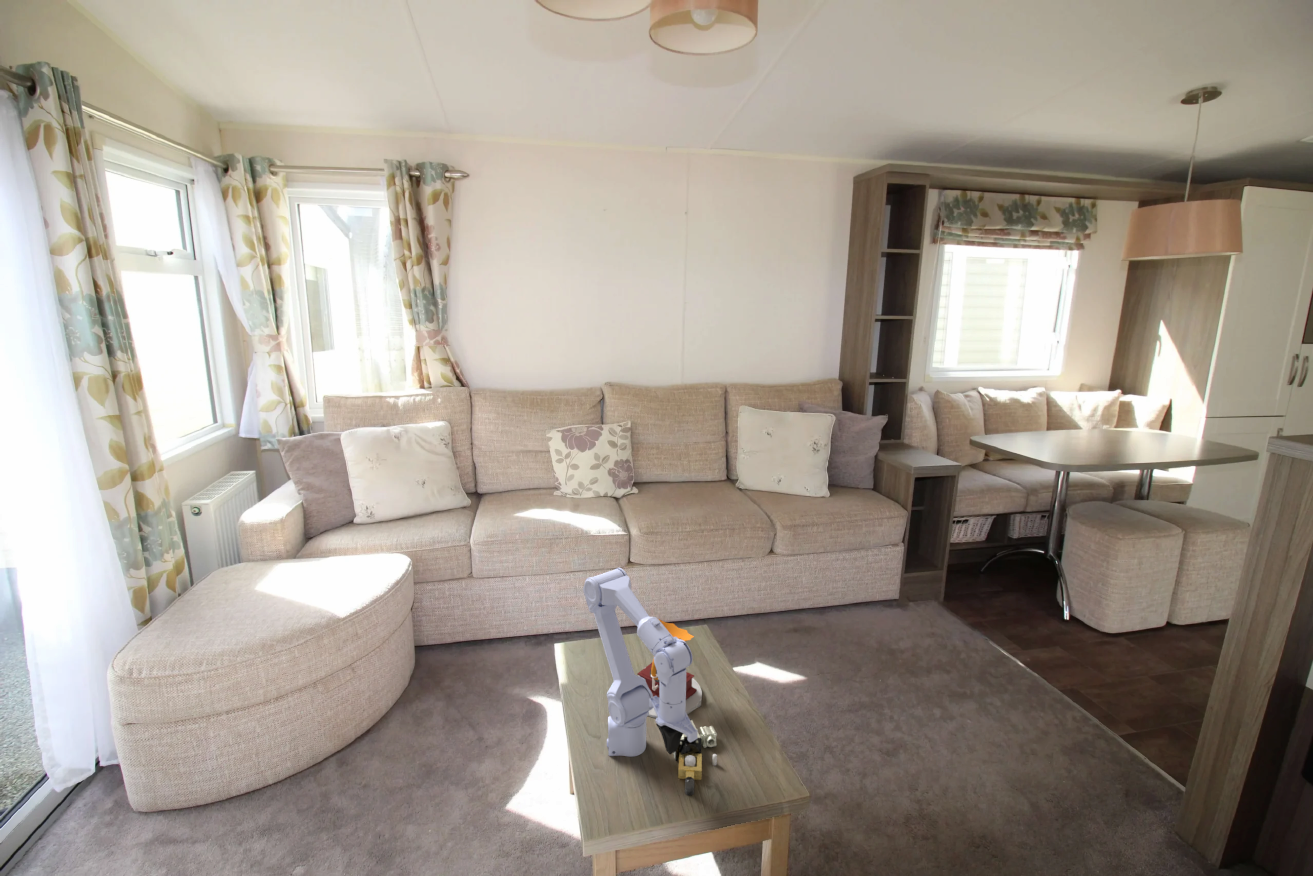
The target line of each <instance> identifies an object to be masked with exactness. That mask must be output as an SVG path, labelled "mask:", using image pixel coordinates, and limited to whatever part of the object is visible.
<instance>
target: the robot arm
mask: <svg viewBox="0 0 1313 876" xmlns="http://www.w3.org/2000/svg"><path fill="white" fill-rule="evenodd" d="M631 581H632V580H631V578H630V576H629V575H628V573H627V572H626V571H625V570H624V569H623V568H621V567H617V568H614V569H613V570H609V571H606V572H604V573H600V574H598V575H595V576H594V575H593V576H591V577H590V576H589V577H587V578H586V579H585V581H584V585H583V587H582V592H583V595H584V597H585V598H584V599H585V602H586V605H587V608H588V611H589V613H590V614H591V613H592V614H593V616H594V619H595V623H596V626H597V631H598V632H599V633H598V634H599V636H600V639H601V643H602V645H603V650H604V653H605V656H606V659H607V663H608V666H609V670H610V672H611V676H612V679H613V681H612V684H611V686H610V687H609V689H608V690H607V691H606V692H607V693H606V697H607V702H608V703H607V705H608V713H609V716H608V717H607V730H608V732H607V735H608V736H607V738H606V747H607V748H608V757H614V756H615V757H616V756H625V757H631V758H633V757H637V756H639V755H641V754H643V753H644V752H645V750H646V748H647V717H650V716H649V711H650V710H652V709H653V708H654V710H655V712H656V714H657V717H658V718H655V723H656V724H655V725H656V726H657V728H658V730H659V731H660V734H661V736H662V741H663V743H664V747H665V751H666V753H668V754H669V755H672V754H673V753H674V752H675V751H677V749H678V745H679V742H680V739H681V737H682V735H683V734H685V735H686V736H687V740H688V741H689V742H692V741H694V740H696V739H697V733H699V730H698V731H697V730H696V729H697V728H696V729H695V728H694V726H693V725H692V723H691V721H690V719H691V718H690V716H688V715H689V714H687V713H686V712H685V711H686V672H687V668H688V667H689V666H691V665H692V663H693V653H692V651H691V650H692V649H691V648H690V646H689V645H688V643H687V641H686V642H685V641H683V640H681V639H678V638H677V637H673V636H672V635H671V634H670V633H669V631H668V630H667V629H666V628H665V627H664V625H663V624H662V623H661V622H660V621H659V619H660V618H658V617H656V616H650V615H649V614H648V612H647V611H646V609H645V607H644V606H643V605H642V603H641V601H639V599H638V597H637V596H636V594H635V592H634V591H633V590H632V582H631ZM617 607H618V608H619V609H620V610H621V611H622V612H623V613H624V614H625V616H627V618H629V620H631V622H633V624H634V625H635V626H636V627H637V629H636V634H637V637H638V638H639V639H640V641H642V643H643V644H644V645H645V647H646V648H647V649H648V651H649V652H650V653H651V654H652V655H653V658H654V664H655V666H656V669H657V676H658V679H659V680H660V681H659V697H657V696H653V694H652V692H651V690H650V689H649V687H648V685H647V683H646V680H645V679H644V678H642V677H640V676H639V675H637V674H636V673H635V671H634V668H633V665H632V661H631V659H630V655H629V652H628V649H627V644H626V642H625V638H624V636H623V632H622V628H621V626H620V623H619V618H618V615H617V613H616V609H617Z"/></svg>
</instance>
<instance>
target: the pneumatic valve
mask: <svg viewBox="0 0 1313 876" xmlns="http://www.w3.org/2000/svg"><path fill="white" fill-rule="evenodd" d="M689 719H690V721H691V723H692V725H693V726H694V728H695V729H696V730H697V731H698V733H697V739H696V740H694V741H692V742H689V741H688V740H687V736H686V735H685V734H683V735H682V737H681V739H680V742H679V745H678V749H677V751H675V752H674V753H672V754H673V758H674V760H675V761H676V762H677V761H678V762H679V752H680V753H681V755H684V754H691V753H697V754H702V747H703V748H704V749H705V748H708V747H709V748H712V747H717V744H718V743H717V736H718V733H717V731H716V730H715V728H714V726H713V725H710V726H707V725H705V726H700V727H699V728H696V727H697V726H696V725H695V723H694V721H693V719H692V718H689ZM699 733H700V734H699Z"/></svg>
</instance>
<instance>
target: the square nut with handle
mask: <svg viewBox="0 0 1313 876" xmlns="http://www.w3.org/2000/svg"><path fill="white" fill-rule="evenodd" d="M688 755H692V756H694V757H695V759H696V764H695V767H692V766H685V757H686V756H688ZM702 756H703V754H702V753H701V754H697V753H691V754H684V755H681V753H680V752H679V761H678V769H677V771H678V773H677V775H678V776H677V778H678V779H679V780H680V779H682V780H684V793H685V795H686V796H693V795H694V794H695V780H696V781H702V771H703V769H702V767H703V765H702V763H703V762H702V761H703V757H702Z"/></svg>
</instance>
